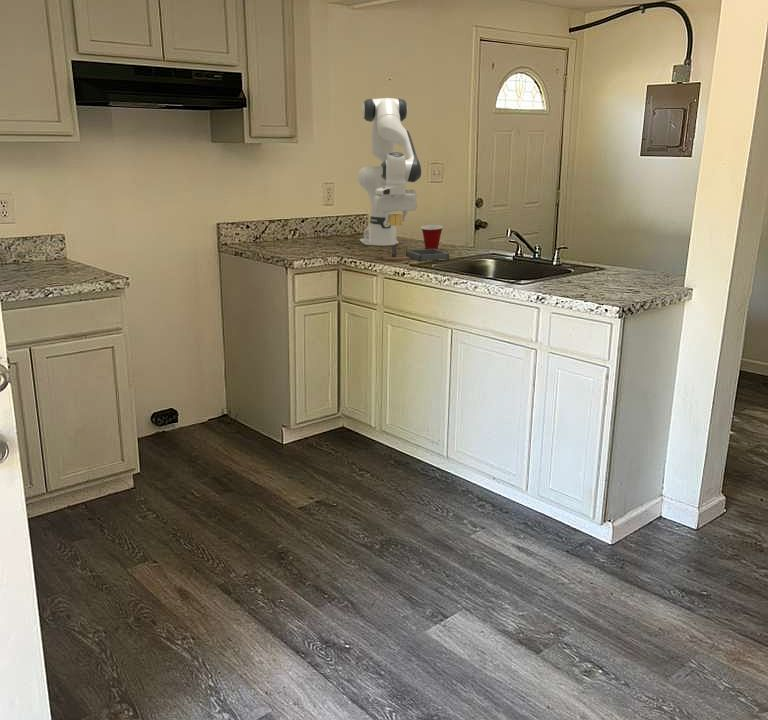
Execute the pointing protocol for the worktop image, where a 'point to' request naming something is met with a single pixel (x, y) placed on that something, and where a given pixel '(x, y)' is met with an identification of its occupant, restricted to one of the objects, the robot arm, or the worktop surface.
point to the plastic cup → (431, 236)
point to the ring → (395, 219)
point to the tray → (426, 254)
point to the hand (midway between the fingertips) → (395, 221)
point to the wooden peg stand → (393, 255)
